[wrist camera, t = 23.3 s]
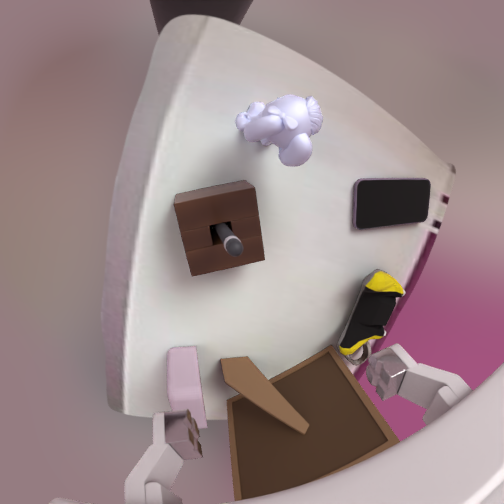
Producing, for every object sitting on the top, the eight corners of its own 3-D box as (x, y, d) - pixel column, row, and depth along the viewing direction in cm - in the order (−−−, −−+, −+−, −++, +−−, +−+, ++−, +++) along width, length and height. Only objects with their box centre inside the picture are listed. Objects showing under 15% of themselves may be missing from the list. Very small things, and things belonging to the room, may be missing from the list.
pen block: (175, 194, 31) (173, 204, 26) (245, 179, 32) (255, 187, 27) (190, 257, 34) (191, 276, 30) (254, 243, 35) (265, 260, 31)
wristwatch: (358, 370, 46) (378, 354, 45) (340, 355, 45) (362, 337, 44) (353, 360, 50) (372, 344, 49) (335, 344, 48) (356, 327, 47)
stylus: (210, 217, 33) (225, 243, 20) (221, 215, 33) (243, 239, 20) (212, 228, 33) (229, 261, 20) (223, 225, 33) (246, 256, 20)
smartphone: (356, 179, 34) (431, 178, 36) (352, 177, 35) (426, 177, 37) (354, 230, 37) (427, 221, 39) (350, 228, 38) (422, 219, 40)
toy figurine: (298, 121, 30) (353, 117, 20) (270, 164, 32) (314, 179, 21) (251, 89, 28) (286, 64, 17) (221, 133, 29) (240, 130, 18)
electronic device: (164, 343, 38) (164, 395, 29) (195, 341, 39) (201, 393, 30) (174, 385, 42) (177, 433, 33) (201, 383, 43) (208, 431, 34)
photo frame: (337, 356, 48) (404, 460, 26) (237, 408, 48) (270, 521, 26) (312, 306, 42) (403, 437, 19) (193, 371, 42) (215, 515, 19)
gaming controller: (324, 339, 45) (367, 336, 48) (338, 360, 40) (382, 354, 43) (354, 260, 40) (398, 265, 43) (375, 277, 35) (418, 280, 38)
